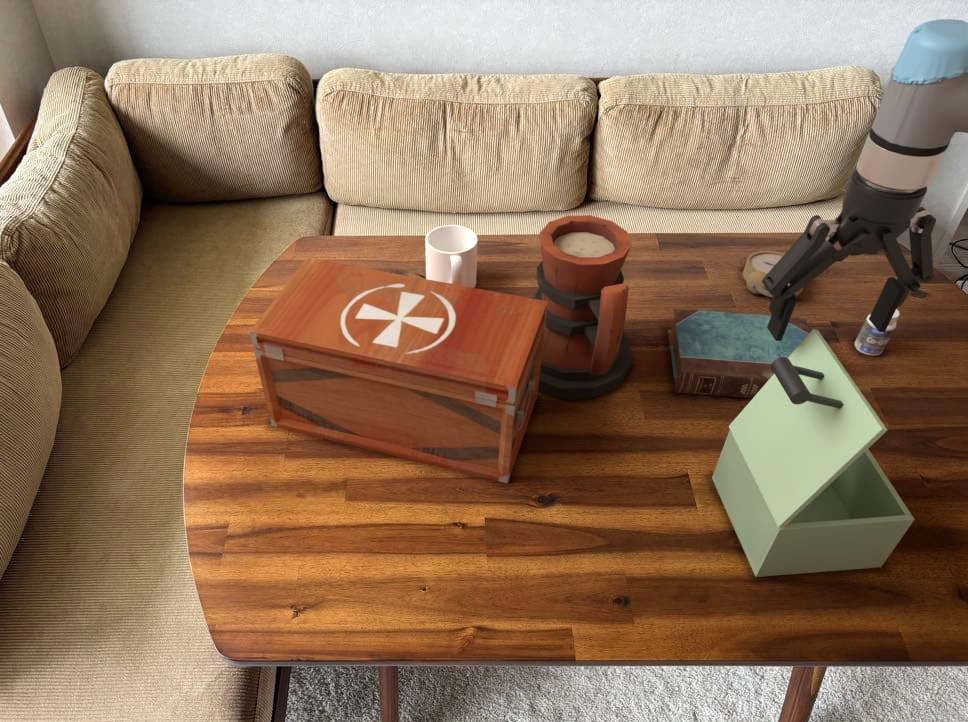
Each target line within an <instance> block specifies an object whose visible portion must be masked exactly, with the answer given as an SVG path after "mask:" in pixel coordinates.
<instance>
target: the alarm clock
mask: <svg viewBox="0 0 968 722" xmlns="http://www.w3.org/2000/svg"><path fill="white" fill-rule="evenodd" d="M785 253H786V252H785ZM785 253H784V252H779V251H775V250H760V251H756V252H752V253H751V254H749V255H747V258H746V260H745V265H744V268H743V271H742V278H743V279H744V280H745V282H746V287H747V290H748V291H749V292H751V293H752V294H753V295H757V296H758V295H759V296H760V295H763V296H765V297H769V298H773V295H771V294H770V293H769V291H768V290H767V288H766V287H765V285H764V284H763V282H762V280H763V278H764V277H765V276H766V275H767V274H768V273H769V271H770V270H771V269H772V268H773V267H774V266H775V265H776V263H777V262H778V261H779V260H780V259H781V258H782V257H783V256H784V254H785ZM789 285H790V283H789V284H788V286H789ZM804 288H805V286H804V287H803V288H802V289H800V290H799V291H798V292H797V293H795V294H794V295H795V296H796V297H797V298H798V297H799V296H800V295H801V294H802V292H803V291H804Z"/></svg>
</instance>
